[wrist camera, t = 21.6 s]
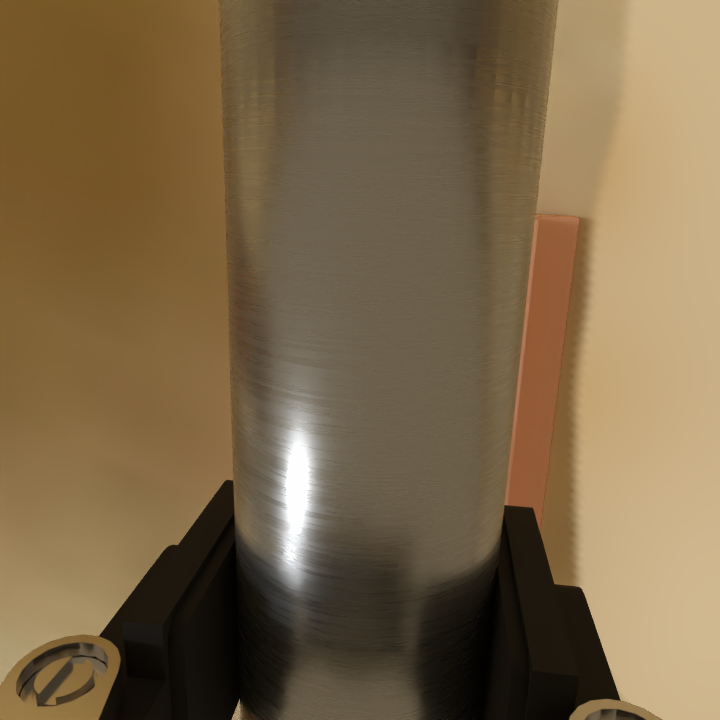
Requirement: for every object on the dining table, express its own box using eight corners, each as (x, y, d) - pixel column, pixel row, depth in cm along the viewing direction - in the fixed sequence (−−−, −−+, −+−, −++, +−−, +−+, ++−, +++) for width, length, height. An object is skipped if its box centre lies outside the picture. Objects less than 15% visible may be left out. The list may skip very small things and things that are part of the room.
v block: (258, 562, 21) (230, 621, 18) (252, 204, 18) (216, 208, 15) (524, 589, 20) (538, 655, 17) (570, 215, 17) (596, 222, 14)
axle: (429, 921, 15) (462, 1179, 11) (262, 924, 15) (236, 1187, 11) (512, -22, 9) (637, -165, 5) (244, -35, 9) (175, -191, 5)
